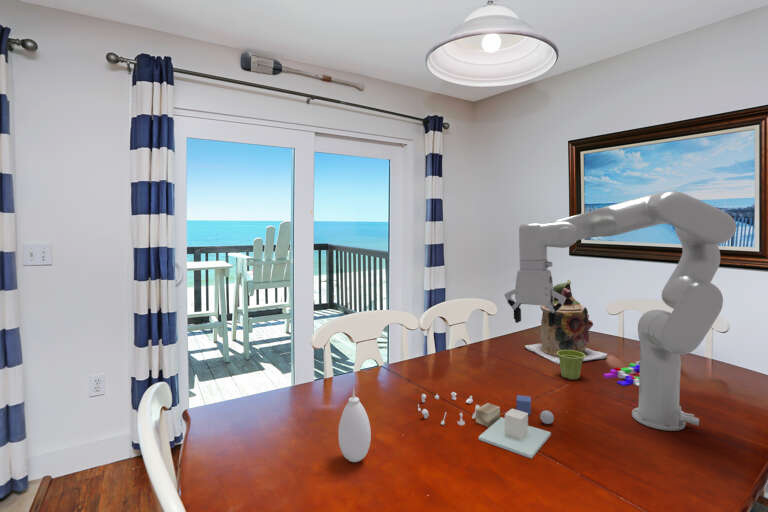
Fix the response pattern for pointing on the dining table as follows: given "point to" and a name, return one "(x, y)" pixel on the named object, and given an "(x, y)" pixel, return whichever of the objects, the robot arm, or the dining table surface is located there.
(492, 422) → the sand wood block
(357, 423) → the white air blower bulb
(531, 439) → the seafoam tile
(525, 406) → the blue cube
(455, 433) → the dining table surface
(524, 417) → the cream block
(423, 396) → the game piece set
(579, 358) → the plant pot
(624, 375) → the building block set
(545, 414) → the grey ball
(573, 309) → the cookie jar
